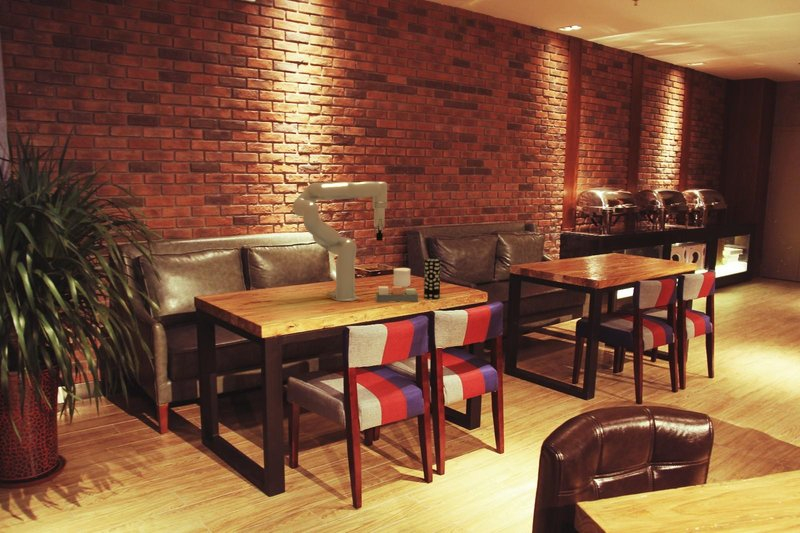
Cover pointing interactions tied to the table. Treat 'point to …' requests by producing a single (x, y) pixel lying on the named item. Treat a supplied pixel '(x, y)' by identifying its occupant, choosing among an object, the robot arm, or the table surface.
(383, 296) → the button box
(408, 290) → the sage button
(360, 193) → the robot arm
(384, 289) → the white button
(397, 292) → the clay button
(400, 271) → the cup
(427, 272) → the white-spotted black cylinder
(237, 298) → the table surface
